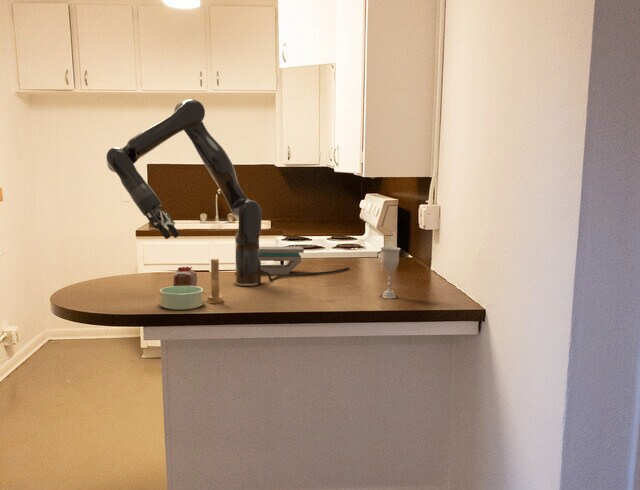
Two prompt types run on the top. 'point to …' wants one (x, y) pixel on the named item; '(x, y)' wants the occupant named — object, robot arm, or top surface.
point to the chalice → (390, 266)
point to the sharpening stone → (280, 258)
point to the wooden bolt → (215, 283)
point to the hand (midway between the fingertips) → (173, 237)
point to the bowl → (181, 297)
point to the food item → (185, 277)
